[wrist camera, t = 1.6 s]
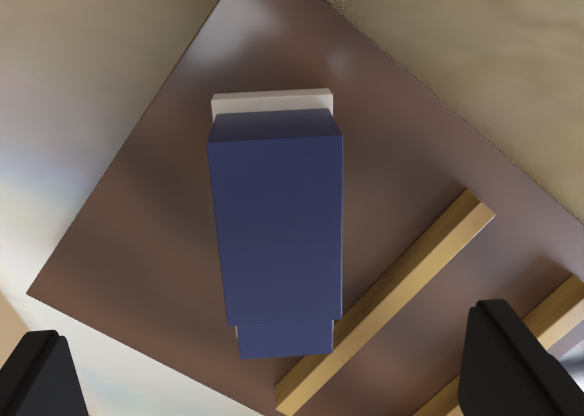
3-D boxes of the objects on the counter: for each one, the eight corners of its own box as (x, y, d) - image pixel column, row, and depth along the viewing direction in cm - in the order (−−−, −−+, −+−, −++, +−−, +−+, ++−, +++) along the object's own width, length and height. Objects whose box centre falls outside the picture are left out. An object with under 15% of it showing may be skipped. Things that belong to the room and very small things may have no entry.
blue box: (213, 93, 19) (198, 126, 14) (328, 87, 19) (348, 118, 15) (238, 321, 23) (232, 398, 19) (330, 315, 23) (345, 390, 19)
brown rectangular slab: (257, -52, 20) (256, -64, 15) (600, 243, 27) (675, 301, 22) (58, 250, 26) (9, 314, 21) (387, 431, 33) (409, 511, 28)
